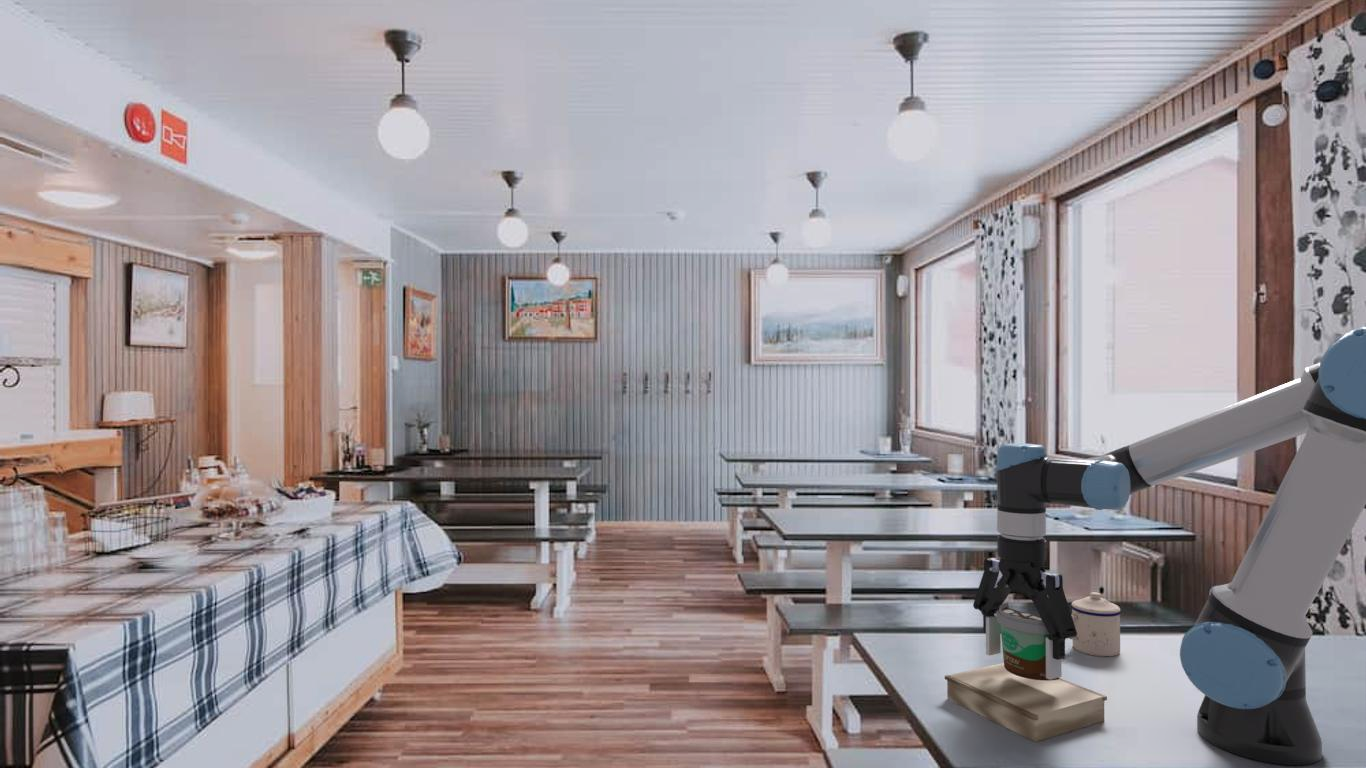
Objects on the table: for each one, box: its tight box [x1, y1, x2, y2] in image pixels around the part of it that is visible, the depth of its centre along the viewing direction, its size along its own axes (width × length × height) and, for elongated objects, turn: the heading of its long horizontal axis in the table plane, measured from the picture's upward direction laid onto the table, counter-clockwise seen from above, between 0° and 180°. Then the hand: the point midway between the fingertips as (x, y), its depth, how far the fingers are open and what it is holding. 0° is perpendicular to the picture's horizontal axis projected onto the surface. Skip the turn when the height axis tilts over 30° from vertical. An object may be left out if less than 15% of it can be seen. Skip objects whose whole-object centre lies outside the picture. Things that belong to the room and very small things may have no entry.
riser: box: [944, 662, 1108, 743], centre depth 127 cm, size 18×17×4 cm
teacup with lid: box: [1068, 591, 1122, 657], centre depth 155 cm, size 12×9×12 cm
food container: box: [995, 602, 1060, 681], centre depth 127 cm, size 12×6×10 cm, turn 25°
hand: (1022, 665), depth 127 cm, fingers closed on food container, 11 cm apart
